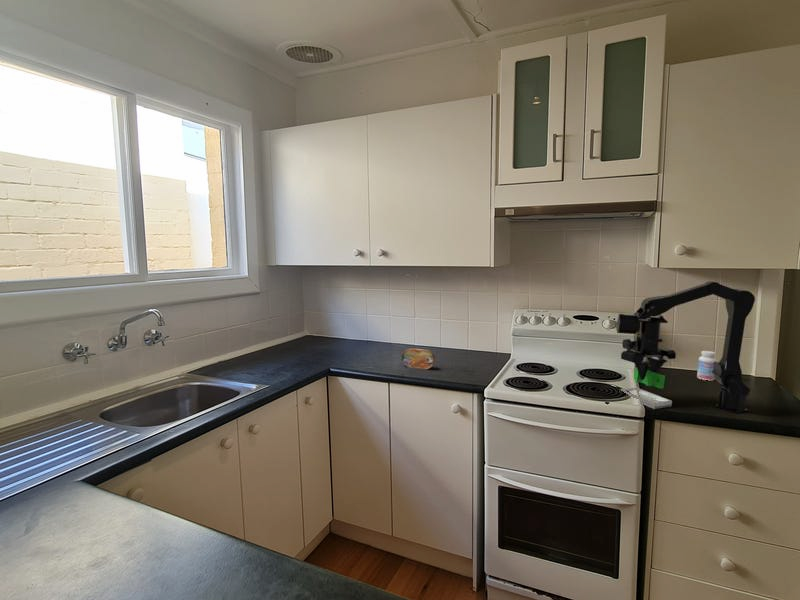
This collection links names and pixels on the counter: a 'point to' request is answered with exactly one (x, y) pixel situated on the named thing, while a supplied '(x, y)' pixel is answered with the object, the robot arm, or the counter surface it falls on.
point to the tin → (418, 358)
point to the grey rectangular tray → (649, 398)
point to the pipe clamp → (651, 379)
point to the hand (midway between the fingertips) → (646, 379)
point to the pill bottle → (706, 366)
